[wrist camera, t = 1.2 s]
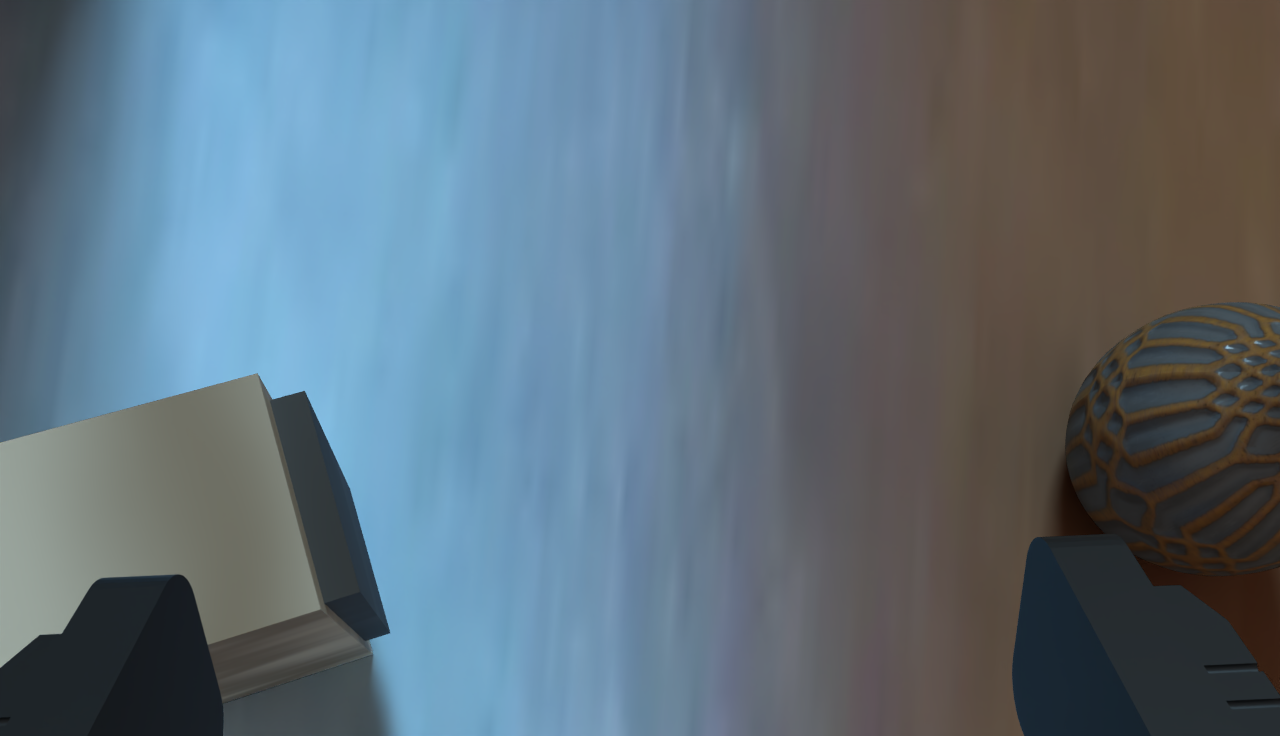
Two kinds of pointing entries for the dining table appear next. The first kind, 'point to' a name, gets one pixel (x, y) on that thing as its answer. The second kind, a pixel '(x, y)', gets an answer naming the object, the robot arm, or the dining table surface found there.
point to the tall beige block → (195, 529)
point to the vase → (1186, 440)
